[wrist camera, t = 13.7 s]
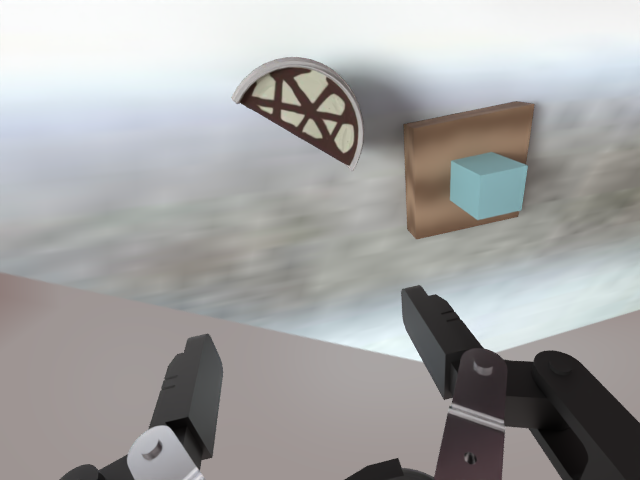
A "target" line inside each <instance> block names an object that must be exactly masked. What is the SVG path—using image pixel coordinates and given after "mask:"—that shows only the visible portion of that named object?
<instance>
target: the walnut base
mask: <svg viewBox="0 0 640 480" xmlns="http://www.w3.org/2000/svg"><path fill="white" fill-rule="evenodd" d="M533 111H534V104H531V103H524V102H517V101H516V102H511V103H506V104H501V105H496V106H491V107H486V108H481V109H476V110H471V111H466V112H462V113H457V114H452V115H447V116H442V117H437V118H432V119H427V120H422V121H417V122H412V123H407V124H404V151H405V178H406V205H407V229H408V231H409V232H410V233H411V234H412V235H413V236H414V237H415V238H416V239H420V238H425V237H429V236H434V235H438V234H443V233H447V232H452V231H456V230H461V229H465V228H470V227H474V226H479V225H483V224H488V223H492V222H496V221H501V220H505V219H510V218H514V217H518V215H519V211H516V212H511V213H507V214H503V215H498V216H494V217H489V218H485V219H480V220H477V219H475V218H474V217H473V216H471V215H470V214H468V213H467V212H466V211H464V210H463V209H461V208H460V207H459V206H457V205H456V204H455V203H453V202H452V201H450V180H451V161H452V160H457V159H461V158H466V157H470V156H475V155H480V154H484V153H489V152H493V153H496V154H499V155H501V156H504V157H507V158H509V159H512V160H515V161H517V162H520V163H523V164H525V165H526V159H527V153H528V146H529V139H530V132H531V125H532V118H533Z"/></svg>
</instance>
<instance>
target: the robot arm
mask: <svg viewBox="0 0 640 480" xmlns="http://www.w3.org/2000/svg"><path fill="white" fill-rule="evenodd" d="M401 296H402V315H403V322H404V325H405V328H406V331H407V333H408V335H409V336H410V338H411V340H412V342H413V344H414V346H415V347H416V349H417V351H418V353H419V355H420V357H421V358H422V360H423V362H424V364H425V366H426V368H427V369H428V371H429V373H430V375H431V376H432V379H433V380H434V382H435V384H436V386H437V388H438V390H439V392H440V393H441V395H442V397H443V399H444V400H445V399H449V398H453V400H452V404H451V406H450V407H449V410H448V414H447V419H446V424H445V428H444V433H443V438H442V443H441V447H440V452H439V457H438V461H437V466H436V471H435V476H434V477H432V476H430V475H428V474H426V473H424V472H421V471H417V470H413V469H407V468H401V465H400V462H399V459H398V458H396V459H392V460H389V461H384V462H381V463H377V464H373V465H369V466H366V467H365V468H363V469H362V470H360V471H358V472H356V473H355V474H353V475H352V476H350V477H348V478H347V479H345V480H502V469H503V452H504V438H505V426H509V427H521V428H529V430H530V431H531V433H532V434H533V436H534V437H535V439H536V440H537V442H538V443H539V445H540V446H541V448H542V449H543V451H544V452H545V454H546V455H547V457H548V458H549V460H550V461H551V463H552V464H553V466H554V467H555V469H556V470H557V472H558V474H559V475H560V477H561V478H562V479H563V480H640V423H639V422H638V421H637V420H636V419H635V418H634V417H633V416H632V415H631V414H630V413H629V412H628V411H627V410H626V409H625V408H624V407H623V406H622V405H621V403H620V402H618V400H617V399H616V398H615V397H614V396H613V395H612V394H611V393H610V392H609V391H608V390H607V389H606V388H605V387H604V386H603V385H602V384H601V383H600V382H599V381H598V380H597V379H596V378H595V377H594V376H593V375H592V374H591V373H590V372H589V371H588V370H587V369H586V368H585V367H584V366H583V365H582V364H581V363H580V362H579V361H578V360H576V359H575V358H573V357H572V356H570V355H568V354H565V353H562V352H558V351H543V352H540V353H538V354H537V355H536V356H535V358H534V362H526V361H509V360H504V359H502V358H501V357H500V356H499V355H498V354H496V353H495V352H493V351H490V350H487V349H484V348H483V347H482V346H481V344H480V343H479V342H478V341H477V339H476V338H475V337H474V335H473V334H472V333H471V332H470V330H469V329H468V328H467V326H466V325H465V324H464V323H463V321H462V320H460V318H459V316H458V315H457V314H456V312H454V310H453V309H452V307H451V306H450V305H449V303H448V302H447V301H446V300H444V299H442V298H441V297H439V296H438V295H436V294H435V295H431V296H428V295H427V293H426V292H425V291H424V289H423V288H422V287H421V286H420V285H418V286H414V287H409V288H405V289H402V291H401ZM222 377H223V367H222V362H221V359H220V357H219V354H218V352H217V350H216V348H215V345H214V343H213V341H212V339H211V337H210V336H209V334H204V335H200V336H195V337H191V338H189V339H188V340H187V343H186V347H185V350H184V353H181V354H177V355H176V356H175V358H174V359H173V360H172V362H171V363H170V364H169V366H168V369H167V372H166V375H165V380H164V381H163V385H162V390H161V391H160V394H159V398H158V401H157V404H156V407H155V410H154V414H153V417H152V420H151V423H150V426H149V429H148V430H147V431H146V432H144V433H143V434H142V435H141V436H139V438H138V439H137V440H136V441H135V442H134V443H133V445H132V447H131V448H130V451H129V453H128V454H127V455H126V456H124V457H122V458H120V459H119V460H117V461H115V462H113V463H111V464H110V465H108V466H106V467H104V468H103V469H100V470H98V469H97V468H96V467H94V466H93V465H90V464H87V465H81V466H79V467H76V468H75V469H73V470H71V471H69V472H68V473H67V474H65V475H64V476H63V477H62V478H61V479H60V480H205V478H204V477H203V475H202V474H201V472H200V466H201V460H204V459H208V458H212V456H213V448H214V440H215V432H216V425H217V416H218V409H219V401H220V393H221V385H222Z"/></svg>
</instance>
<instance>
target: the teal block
mask: <svg viewBox="0 0 640 480" xmlns="http://www.w3.org/2000/svg"><path fill="white" fill-rule="evenodd" d="M527 168H528V165H525V164H523V163H520V162H517V161H515V160H512V159H509V158H507V157H504V156H501V155H499V154H496V153H493V152H489V153H484V154H480V155H475V156H470V157H466V158H461V159H457V160H452V161H451V180H450V201H452V202H453V203H455V204H456V205H457V206H459V207H460V208H461V209H463V210H464V211H466V212H467V213H468V214H470V215H471V216H473V217H474V218H475V219H477V220H480V219H485V218H489V217H494V216H498V215H503V214H507V213H511V212H516V211H520V210H522V203H523V196H524V189H525V182H526V175H527Z"/></svg>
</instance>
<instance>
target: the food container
mask: <svg viewBox="0 0 640 480" xmlns="http://www.w3.org/2000/svg"><path fill="white" fill-rule="evenodd" d="M231 98H232V100H233V101H234V102H236V104H239V103H241V104H243V105H245V106H246V107H247V108H249V109H252V110H254V111H255V112H257V113H259V114H261V115H262V116H264V117H266V118H267V119H269V120H271V121H272V122H274V123H276V124H278V125H279V126H281V127H283V128H284V129H286V130H288V131H289V132H291V133H293V134H294V135H296V136H298V137H299V138H301V139H303V140H305V141H306V142H308V143H310V144H312V145H313V146H315V147H317V148H318V149H320V150H322V151H324V152H325V153H327V154H329V155H330V156H332V157H334V158H336V159H337V160H339V161H341V162H342V163H344V164H345V165H346V166H347V167H348V168H349V169H350V170H351V171H353V170H354V168H355V166H356V164H357V162H358V160H359V157H360V154H361V151H362V146H363V139H364V126H363V118H362V114H361V110H360V107H359V105H358V102H357V100H356V97H355V95H354V93H353V92H352V90H351V89H350V87H349V85H348V84H347V83H346V82H345V81H344V80H343V78H342V77H341V76H340V75H338V74H337V73H336V72H335V71H333V70H332V69H331V68H329V67H327V66H325V65H324V64H322V63H319V62H317V61H314V60H311V59H306V58H300V57H286V58H281V59H276V60H273V61H270V62H268V63H265V64H263V65H261V66H260V67H258V68H256V69H255V70H253V71H252V72H251V73H250V74H249V75H248V76H246V77H245V78H244V79H243V81H242V82H241V83H240V84H239V86H238V87H237V88H236V90H235V92H234V94H233V95H232V97H231Z"/></svg>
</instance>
